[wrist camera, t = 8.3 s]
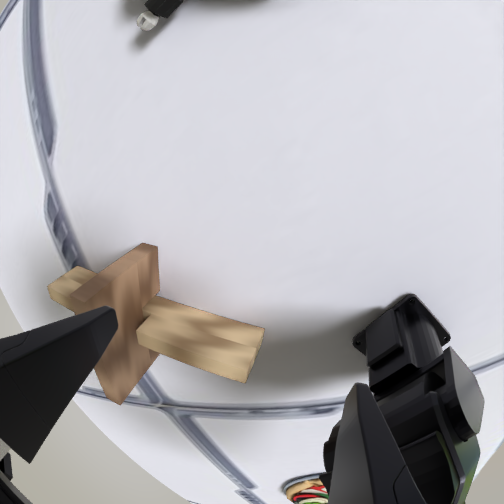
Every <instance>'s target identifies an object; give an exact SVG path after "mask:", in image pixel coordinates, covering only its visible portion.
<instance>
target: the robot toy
mask: <svg viewBox="0 0 504 504" xmlns="http://www.w3.org/2000/svg"><path fill="white" fill-rule="evenodd" d="M182 2H183V0H148V1H147V2H146V3H145V4H144V5H145V6H146V7H147V8H148V9H149V10H147V11H145V12H143V13H142V14H140V16H139V18H138V20H137V25H138V26H139V27H141V29H142V30H144V31H148V30H151V29H152V28H154V27H155V26H156V25H157V23H158V20H159V17H160V16H162V17H166V18H168V17H169V16H170V15H171V13H172V12H173V11H174V10H175V9H176V8H177V7H178V6H179V5H180V4H181V3H182Z"/></svg>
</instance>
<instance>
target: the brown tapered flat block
mask: <svg viewBox="0 0 504 504" xmlns="http://www.w3.org/2000/svg"><path fill="white" fill-rule="evenodd" d="M159 291H160V284H159V268H158V247H157V246H153V245H149V244H145V243H142V244H140V245H139V246H137V247H136V248H134V249H133V250H131V251H130V252H128V253H127V254H125V255H124V256H122V257H121V258H120V259H118V260H117V261H115V262H114V263H112V264H111V265H109V266H108V267H107V268H105V269H104V270H102V271H101V272H100V273H98V274H97V275H95V276H94V277H93V278H91V279H90V280H89V281H87V282H86V283H84V284H83V285H82V286H80V287H79V288H78V289H76V290H75V291H74V292H72V293H71V294H70V299H71V302H72V306H73V309H74V313H75V315H78V314H81V313H84V312H87V311H90V310H93V309H96V308H99V307H102V306H105V305H107V306H110V307H112V308H114V309H115V311H116V315H117V319H118V324H119V325H118V330H117V332H116V333H115V335H114V337H113V338H112V340H111V342H110V343H109V345H108V347H107V348H106V350H105V352H104V354H103V355H102V357H101V358H100V360H99V361H98V363H97V364H96V366H95V367H94V370H95V372H96V374H97V377H98V379H99V381H100V384H101V386H102V388H103V390H104V393H105V395H106V397H107V398H108V399H110V400H111V401H113V402H115V403H117V404H118V405H121V404H122V403H123V401H124V400H125V399H126V397H127V396H128V395H129V393H130V392H131V391H132V389H133V388H134V387H135V385H136V384H137V383H138V382H139V380H140V379H141V378H142V376H143V375H144V374H145V372H146V371H147V370H148V368H149V367H150V366H151V365H152V363H153V362H154V361H155V359H156V358H157V357H158V355H159V354H160V353H158V352H156V351H153V350H151V349H149V348H146V347H144V346H142V345H140V344H139V343H138V338H137V333H136V330H137V329H138V328H139V327H140V326H141V325H142V324H143V322H144V318H143V311H142V308H143V307H144V306H145V305H146V304H147V303H148V302H149V301H150V300H151V299H152V298H153V297H154V296H155V295H156V294H157V293H158V292H159Z"/></svg>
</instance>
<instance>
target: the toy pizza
mask: <svg viewBox="0 0 504 504" xmlns="http://www.w3.org/2000/svg"><path fill="white" fill-rule="evenodd" d="M319 475H320V474H318V475H312V476H307V477H303V478H300V479H297V480H295V481H292V482H290V483H289V484H287V485H286V486H285V487H284V493H285V494H286V496H287V499H289V500H290V501H292V502H293V503H294V504H328V499H329V496H328V493H327V491H326V488H325V487H324V485H323V484H322V482H321V481H320V479H319Z"/></svg>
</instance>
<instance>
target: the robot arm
mask: <svg viewBox="0 0 504 504" xmlns="http://www.w3.org/2000/svg"><path fill="white" fill-rule="evenodd" d="M410 300H414V301H413V302H409V301H410ZM118 325H119V324H118V319H117V315H116V311H115V309H114V308H112V307H110V306H107V305H105V306H102V307H99V308H96V309H93V310H90V311H87V312H84V313H81V314H78V315H75V316H72V317H69V318H66V319H63V320H60V321H57V322H54V323H51V324H48V325H45V326H42V327H38V328H35V329H32V330H31V331H30V330H29V331H26V332H23V333H20V334H17V335H13V336H9V337H6V338H1V339H0V504H32V503H31V502H30V501H29V500H28V499H27V498H26V497H25V496H24V495H23V494H22V493H21V492H20V491H19V490H18V489H17V488H16V487H15V486H14V485H13V484H12V483H11V482H10V481H11V479H12V478H13V476H12V467H11V457H10V454H9V453H8V451H9V450H10V449H12V450H14V451H15V452H16V453H17V454H18V455H19V456H21V457H22V458H23V459H24V460H26V461H27V462H28V463H29V464H30V463H31V462H32V460H33V458H34V457H35V455H36V453H37V452H38V450H39V449H40V447H41V445H42V444H43V442H44V441H45V439H46V437H47V436H48V434H49V433H50V431H51V429H52V428H53V426H54V425H55V423H56V422H57V420H58V419H59V417H60V416H61V414H62V413H63V411H64V409H65V408H66V407H67V405H68V404H69V402H70V401H71V399H72V398H73V397H74V395H75V394H76V392H77V391H78V389H79V388H80V387H81V385H82V384H83V382H84V381H85V379H86V378H87V377H88V375H89V374H90V372H91V371H92V370H93V368H94V367H95V366H96V364H97V363H98V361H99V360H100V358H101V357H102V355H103V354H104V352H105V350H106V348H107V347H108V345H109V343H110V342H111V340H112V338H113V337H114V335H115V333H116V332H117V330H118ZM445 337H446V338H445ZM444 338H445V339H444ZM450 339H451V337H450V334H449V332H448V331H447V330H446V329H445V328H444V326H443V325H442V324H441V323H440V322H439V320H438V319H437V318H436V317H435V316H434V315H433V314H432V312H431V311H430V310H429V309H428V308H427V307H426V306H425V305H424V303H423V302H422V301H421V300H420V299H419V298H418V297H417V296H416V295H415V294H409V295H408V296H406V297H405V298H404V299H403V300H402V301H400V302H399V303H398V304H397V305H395V306H394V307H393V308H392V309H390V310H388V311H387V312H385V313H384V314H383V315H382V316H380V317H379V318H378V319H376V320H375V321H374V322H373V323H371V324H370V325H369V326H367V327H366V329H365V330H363V331H362V332H361V333H359V334H358V335H356V336H355V337H354V338H353V346H354V347H355V348H357V349H358V350H359V351H360V352H362V353H363V354H364V355H365V356H366V357H367V366H368V367H369V387H368V385H367V384H363V383H355V384H354V385H353V387H352V389H351V390H350V392H349V394H348V395H347V397H346V400H345V404H344V409H343V414H342V419H341V420H339V422H338V423H337V424H336V425H335V426H334V427H333V429H332V432H331V435H330V437H329V441H326V442H325V443H324V449H323V459H324V467H325V470H326V473H323V474H320V475H319V479H320V481H321V482H322V484H323V485H324V487H325V488H326V491H327V493H328V496H329V499H328V504H465V499H466V496H467V494H468V491H469V488H470V486H471V483H472V480H473V477H474V474H475V471H476V467H477V464H478V461H479V457H480V448H479V444H478V440H477V437H476V434H478V433H479V431H480V427H481V421H482V415H483V408H484V398H483V395H482V392H481V390H480V387H479V385H478V382H477V380H476V377H475V375H474V374H473V373H472V372H471V370H470V369H469V368H468V367H467V365H466V364H465V363H464V362H463V361H462V359H461V358H460V357H459V356H458V355H457V353H456V352H455V351H454V350H453V349H452V348H451V346H449V347H448V348H447V349H445V350H444V351H443V350H442V346H444V345H445V344H446V343H448V342H449V341H450ZM357 341H361V342H357ZM372 392H373V394H372Z"/></svg>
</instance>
